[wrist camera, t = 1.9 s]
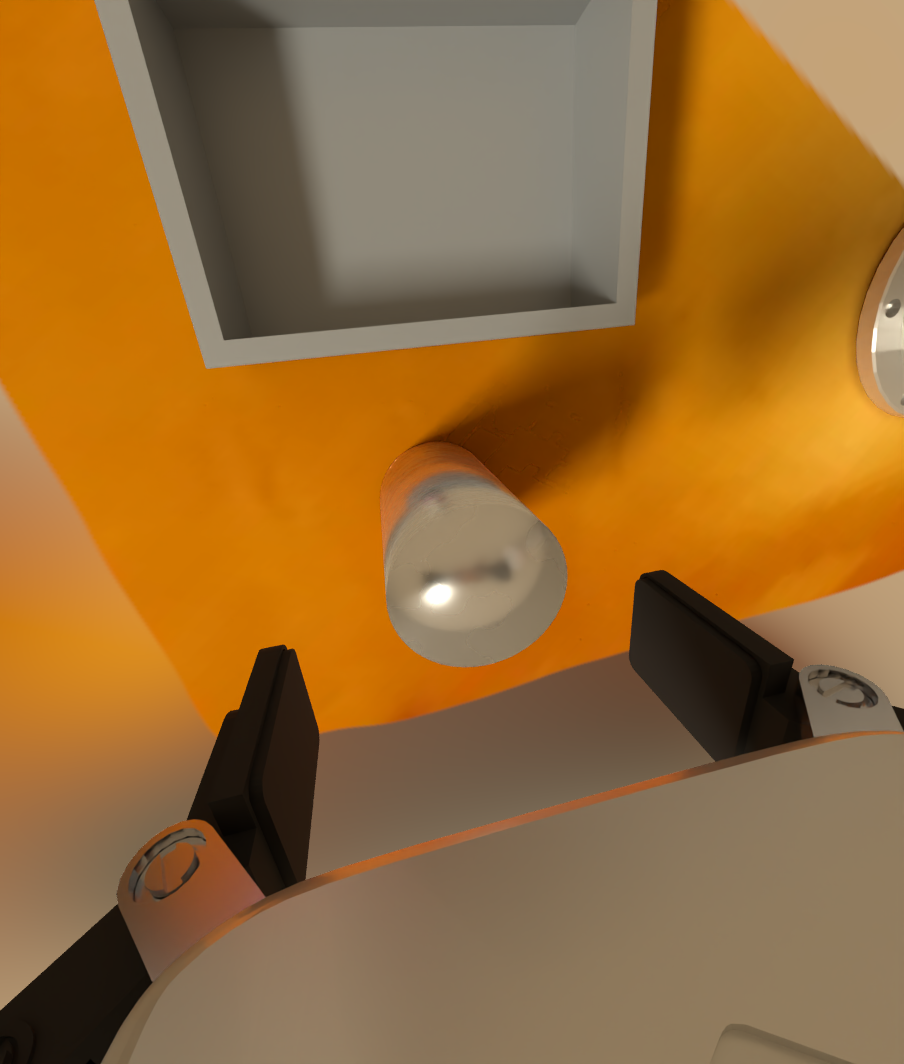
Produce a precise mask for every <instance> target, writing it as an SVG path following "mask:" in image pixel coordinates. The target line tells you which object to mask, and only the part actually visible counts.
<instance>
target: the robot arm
mask: <svg viewBox="0 0 904 1064" xmlns="http://www.w3.org/2000/svg"><path fill="white" fill-rule="evenodd" d="M856 362H857V367H858V372H859V376H860V381H861V383H862V385H863V387H864V389H865V391H866V394H867V396H868V397H869V398H870V399H871V400H872V401H873V403H874V404H875V405H876V406H877V407H878V408H880V409H881V410H883V411H885V412H887V413H888V414H890V415H894V416H898V417H902V418H904V227H903V229H902V230H901V231H900V233H899V234H898V235H897V237H896V238H895V239H894V241H893V242H892V244H891V246H890V248H889V249H888V251H887V253H886V254H885V256H884V258H883V260H882V261H881V263H880V265H879V266H878V268H877V271H876V273H875V275H874V278H873V280H872V282H871V285H870V287H869V289H868V291H867V294H866V298H865V301H864V304H863V308H862V311H861V315H860V319H859V325H858V332H857V339H856ZM629 660H630V663H631V665H632V667H633V669H634V670H635V671H636V672H637V674H638V675H639V676H640V677H641V678H642V679H643V680H644V681H645V683H646V684H647V685H648V686H649V687H650V688H651V689H652V690H653V692H654V693H655V694H656V695H657V696H658V697H659V698H660V699H661V701H662V702H663V703H664V704H665V705H666V706H667V707H668V708H669V709H670V711H671V712H672V713H673V714H674V715H675V716H676V717H677V719H678V720H679V721H680V722H681V723H682V724H683V725H684V726H685V728H686V729H687V730H688V731H689V732H690V733H691V734H692V736H693V737H694V738H695V739H696V740H697V741H698V742H699V743H700V745H701V746H702V747H703V748H704V749H705V750H706V751H707V752H708V753H709V755H710V756H711V757H712V758H713V759H714V760H715V762H713V763H709V764H705V765H702V766H698V767H694V768H690V769H687V770H683V771H679V772H676V773H672V774H668V775H665V776H661V777H658V778H653V779H650V780H647V781H643V782H639V783H635V784H632V785H628V786H624V787H621V788H617V789H613V790H610V791H606V792H603V793H599V794H595V795H592V796H588V797H584V798H581V799H577V800H574V801H570V802H566V803H563V804H559V805H556V806H552V807H548V808H545V809H541V810H538V811H534V812H531V813H527V814H523V815H520V816H516V817H513V818H509V819H506V820H502V821H499V822H495V823H491V824H488V825H485V826H481V827H477V828H474V829H470V830H467V831H464V832H460V833H456V834H453V835H449V836H446V837H442V838H439V839H435V840H431V841H428V842H425V843H421V844H417V845H414V846H411V847H407V848H404V849H401V850H398V851H394V852H391V853H388V854H384V855H381V856H378V857H374V858H371V859H368V860H364V861H361V862H358V863H354V864H351V865H348V866H345V867H341V868H338V869H335V870H333V871H330V872H327V873H324V874H322V875H319V876H316V877H313V878H310V879H307V880H305V879H306V868H307V859H308V849H309V839H310V829H311V819H312V809H313V799H314V789H315V780H316V769H317V759H318V750H319V730H318V726H317V722H316V719H315V716H314V712H313V709H312V706H311V702H310V699H309V696H308V692H307V689H306V685H305V682H304V679H303V675H302V672H301V669H300V665H299V662H298V659H297V655H296V652H295V650H294V649H289V650H287V648H286V646H285V645H279V646H274V647H269V648H264V649H260V650H259V652H258V655H257V658H256V661H255V664H254V667H253V670H252V672H251V675H250V678H249V681H248V684H247V687H246V690H245V693H244V696H243V699H242V702H241V705H240V708H239V709H238V710H234V711H230V712H229V713H228V714H227V715H226V717H225V719H224V721H223V724H222V726H221V729H220V732H219V734H218V737H217V740H216V743H215V745H214V748H213V751H212V753H211V756H210V759H209V761H208V764H207V767H206V769H205V772H204V775H203V778H202V780H201V783H200V786H199V788H198V791H197V794H196V796H195V799H194V802H193V805H192V807H191V810H190V812H189V815H188V818H187V821H182V822H179V823H177V824H175V825H172V826H170V827H167V828H166V829H164V830H163V831H161V832H160V833H158V834H157V835H155V836H154V837H152V838H151V839H150V840H149V841H148V842H147V843H146V844H145V845H144V846H143V847H141V848H140V849H139V850H138V852H137V853H136V854H135V856H134V857H133V858H132V859H131V861H130V862H129V863H128V865H127V866H126V868H125V870H124V872H123V874H122V876H121V878H120V880H119V885H118V889H117V894H116V895H117V901H118V904H117V905H116V906H115V907H114V908H113V909H112V910H111V911H110V912H108V913H107V914H106V915H105V916H104V917H103V918H102V919H101V920H100V921H99V922H98V923H96V924H95V925H94V926H93V927H92V928H91V929H90V930H89V931H87V932H86V933H85V934H84V935H83V936H82V937H81V938H80V939H79V940H77V941H76V942H75V943H74V944H73V945H72V946H71V947H70V948H69V949H68V950H67V951H66V952H64V953H63V954H62V955H61V956H60V957H59V958H58V959H57V960H55V961H54V962H53V963H52V964H51V965H50V966H49V967H48V968H47V969H46V970H45V971H44V972H42V973H41V974H40V975H39V976H38V977H37V978H36V979H35V980H33V981H32V982H31V983H30V984H29V985H28V986H27V987H26V988H25V989H24V990H22V991H21V992H20V993H19V994H18V995H17V996H16V997H15V998H14V999H13V1000H11V1001H10V1002H9V1003H8V1004H7V1005H6V1006H5V1007H4V1008H3V1009H2V1010H0V1064H904V709H902V708H898V707H895V706H891V704H890V701H889V699H888V697H887V696H886V695H885V693H884V692H883V691H882V690H881V689H880V688H879V687H878V686H877V685H875V684H874V683H873V682H871V681H869V680H868V679H866V678H864V677H863V676H861V675H859V674H856V673H853V672H851V671H849V670H846V669H843V668H839V667H835V666H829V665H810V666H807V667H805V668H803V669H802V670H801V671H800V672H797V671H796V670H794V669H793V668H792V665H793V661H794V659H793V658H791V657H790V656H788V655H787V654H785V653H784V652H782V651H781V650H779V649H778V648H777V647H775V646H774V645H772V644H771V643H769V642H768V641H766V640H765V639H764V638H762V637H761V636H759V635H758V634H756V633H755V632H753V631H752V630H751V629H749V628H748V627H746V626H745V625H743V624H742V623H740V622H739V621H738V620H736V619H735V618H733V617H732V616H730V615H729V614H727V613H726V612H724V611H723V610H722V609H720V608H719V607H717V606H716V605H714V604H713V603H711V602H710V601H709V600H707V599H706V598H704V597H703V596H701V595H700V594H698V593H697V592H696V591H694V590H693V589H691V588H690V587H688V586H687V585H685V584H684V583H682V582H681V581H680V580H678V579H677V578H675V577H674V576H672V575H671V574H669V573H668V572H666V571H664V570H659V571H654V572H649V573H644V574H642V575H641V577H640V579H639V580H637V581H636V583H635V592H634V604H633V616H632V627H631V639H630V651H629Z"/></svg>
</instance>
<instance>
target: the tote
mask: <svg viewBox="0 0 904 1064" xmlns="http://www.w3.org/2000/svg"><path fill="white" fill-rule="evenodd" d="M94 1H95V4H96V7H97V11H98V14H99V17H100V20H101V24H102V27H103V30H104V34H105V37H106V40H107V43H108V47H109V50H110V53H111V57H112V60H113V63H114V66H115V70H116V73H117V76H118V80H119V83H120V86H121V89H122V93H123V96H124V99H125V103H126V106H127V109H128V112H129V116H130V119H131V122H132V126H133V129H134V132H135V136H136V139H137V142H138V145H139V149H140V152H141V155H142V159H143V162H144V165H145V168H146V172H147V175H148V178H149V182H150V185H151V188H152V191H153V195H154V198H155V201H156V205H157V208H158V211H159V214H160V218H161V221H162V224H163V228H164V231H165V234H166V238H167V241H168V244H169V247H170V251H171V254H172V257H173V261H174V264H175V267H176V270H177V274H178V277H179V280H180V284H181V287H182V290H183V293H184V297H185V300H186V303H187V307H188V310H189V313H190V316H191V320H192V323H193V326H194V330H195V333H196V336H197V339H198V343H199V346H200V349H201V353H202V356H203V359H204V363H205V366H206V369H207V368H218V367H229V366H241V365H251V364H261V363H270V362H280V361H290V360H300V359H310V358H319V357H329V356H339V355H349V354H359V353H368V352H378V351H388V350H398V349H407V348H417V347H427V346H437V345H447V344H456V343H466V342H476V341H486V340H496V339H505V338H515V337H525V336H535V335H544V334H554V333H564V332H574V331H583V330H592V329H602V328H611V327H620V326H629V325H635V313H636V299H637V284H638V270H639V256H640V242H641V227H642V213H643V199H644V185H645V170H646V156H647V142H648V128H649V113H650V99H651V85H652V70H653V56H654V42H655V28H656V13H657V0H94Z"/></svg>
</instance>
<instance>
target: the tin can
mask: <svg viewBox="0 0 904 1064" xmlns="http://www.w3.org/2000/svg"><path fill="white" fill-rule="evenodd" d="M380 507H381V523H382V539H383V555H384V571H385V587H386V601H387V609H388V613H389V617H390V620H391V622H392V624H393V627H394V629H395V630H396V632H397V633H398V635H399V637H400V638H401V639H402V640H403V641H404V642H405V644H406V645H407V646H409V647H410V648H411V649H412V650H413V651H415V652H416V653H418V654H419V655H421V656H422V657H424V658H427V659H429V660H431V661H433V662H437V663H440V664H443V665H448V666H455V667H476V666H483V665H488V664H492V663H496V662H499V661H502V660H504V659H507V658H509V657H511V656H513V655H515V654H517V653H519V652H520V651H522V650H524V649H525V648H527V647H528V646H529V645H531V644H532V643H533V642H535V641H536V640H537V639H538V638H539V637H540V636H541V635H542V634H543V633H544V632H545V630H546V629H547V628H548V627H549V626H550V624H551V623H552V621H553V620H554V618H555V617H556V615H557V613H558V611H559V609H560V607H561V604H562V602H563V599H564V596H565V591H566V586H567V566H566V561H565V556H564V554H563V551H562V548H561V546H560V544H559V542H558V541H557V539H556V537H555V536H554V535H553V534H552V532H551V531H550V530H549V529H548V528H547V527H546V526H545V525H544V524H543V523H542V522H541V521H540V520H539V519H538V518H537V517H536V516H535V515H534V514H533V513H532V512H531V511H530V510H529V509H528V508H527V507H526V506H525V505H524V504H523V503H522V502H521V501H520V500H519V499H518V498H517V497H516V496H515V495H514V494H513V493H512V492H511V491H510V490H509V489H508V488H507V487H506V486H505V485H504V484H503V483H502V482H501V481H500V480H499V479H498V478H497V477H496V476H495V475H494V474H493V473H492V472H490V471H489V470H488V469H487V468H486V467H485V466H484V465H483V464H482V463H481V462H480V461H479V460H478V459H477V458H476V457H475V456H474V455H473V454H472V453H471V452H469V451H468V450H466V449H464V448H462V447H460V446H458V445H455V444H452V443H447V442H428V443H423V444H420V445H417V446H414V447H412V448H410V449H408V450H407V451H405V452H404V453H402V454H401V455H400V456H399V457H398V458H397V459H396V460H395V461H394V462H393V463H392V464H391V466H390V467H389V469H388V470H387V472H386V474H385V476H384V479H383V482H382V485H381V490H380Z"/></svg>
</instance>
